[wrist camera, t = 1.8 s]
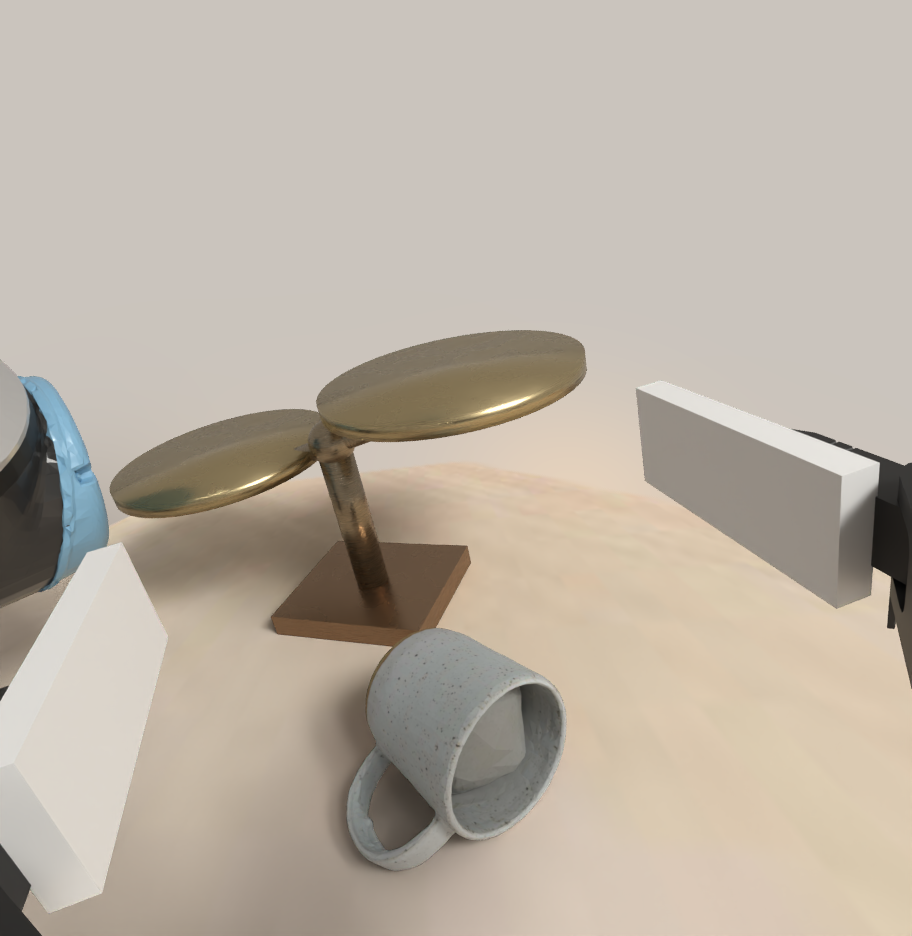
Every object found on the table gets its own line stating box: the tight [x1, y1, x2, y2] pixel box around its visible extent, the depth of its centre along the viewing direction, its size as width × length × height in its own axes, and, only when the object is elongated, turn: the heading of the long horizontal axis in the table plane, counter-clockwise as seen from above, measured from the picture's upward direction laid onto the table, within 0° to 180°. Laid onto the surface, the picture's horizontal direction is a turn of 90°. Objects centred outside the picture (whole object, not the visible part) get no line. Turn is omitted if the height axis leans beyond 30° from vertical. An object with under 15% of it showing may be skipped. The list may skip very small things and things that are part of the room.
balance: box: [110, 330, 587, 646], centre depth 45 cm, size 35×16×18 cm, turn 70°
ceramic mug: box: [346, 628, 566, 871], centre depth 31 cm, size 11×8×8 cm
